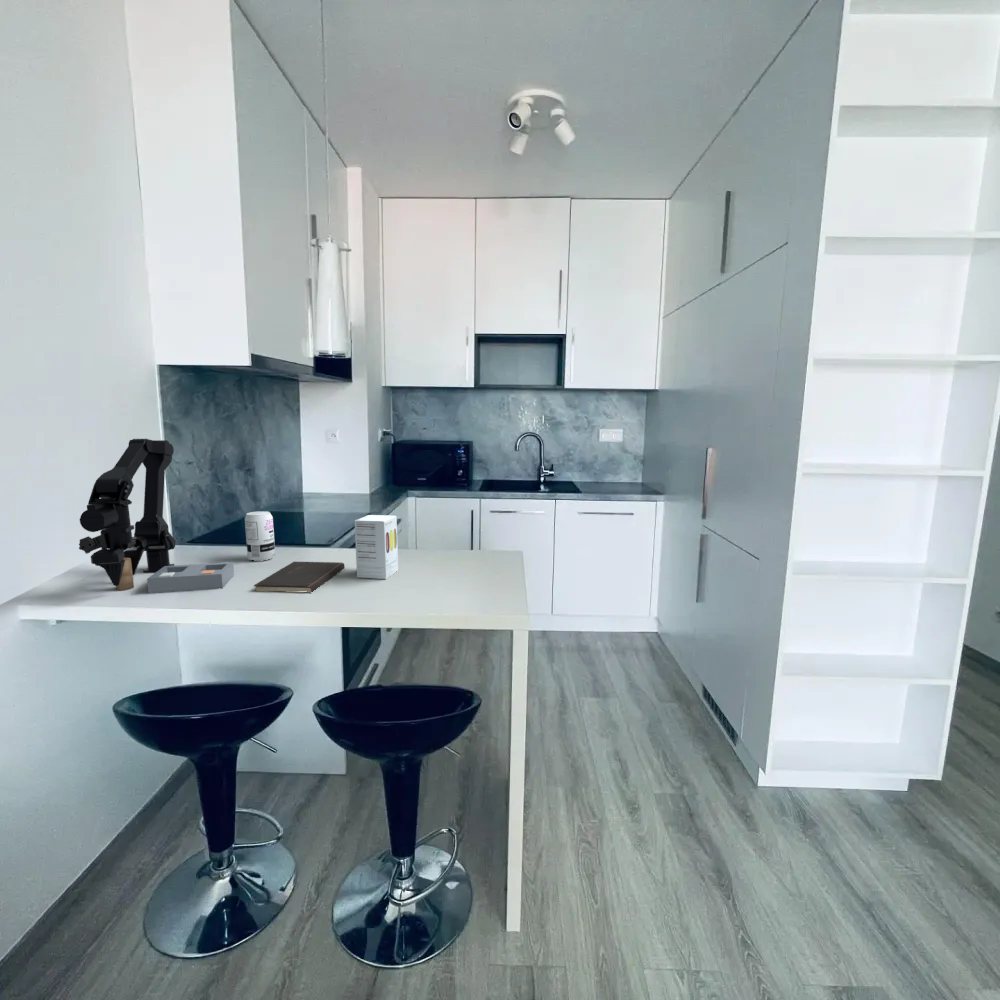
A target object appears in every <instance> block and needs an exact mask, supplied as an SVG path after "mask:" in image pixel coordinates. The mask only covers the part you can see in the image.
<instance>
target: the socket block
mask: <svg viewBox="0 0 1000 1000" xmlns="http://www.w3.org/2000/svg"><path fill="white" fill-rule="evenodd" d="M234 568H235V567H234V562H233V561H231V562H213V563H212V562H211V563H210V562H209V563H196V564H195V563H193V564H192V563H191V564H179V565H176V564H174V566H164V567H163V568H161V569H160V570H158V571H157V572H153V574H151V575H149V576H148V577H147V578H146V580H147V589H148V594H156V593H158V594H159V593H170V592H171V593H173V592H188V591H190V592H191V591H201V590H217V589H219V588H220V589H224V588H225V587H226V585H227V584H229V582H230V581H231V580H232V579H231V578H234V576H235V569H234ZM233 575H234V576H233ZM230 579H231V580H230ZM229 580H230V581H229ZM228 581H229V582H228ZM223 587H224V588H223Z"/></svg>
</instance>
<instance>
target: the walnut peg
mask: <svg viewBox="0 0 1000 1000" xmlns="http://www.w3.org/2000/svg"><path fill="white" fill-rule="evenodd" d="M123 560H125V563H124V567H123V571H122V576H121V580H120V583H119V585H118V586H115V590H116V591H117V592H118V591H119V592H121V591H123V592H124V591H128V590H132V589H134V587H135V586H134V585H135V584H134V575H133V573H132V564H131V558H124V559H123Z"/></svg>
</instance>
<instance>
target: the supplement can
mask: <svg viewBox="0 0 1000 1000" xmlns="http://www.w3.org/2000/svg"><path fill="white" fill-rule="evenodd" d="M244 528H245V541H246V553H247V559H248V560H249V561H251V560H254V561H253V562H262V561H261V560H267V561H269V560H268V559H270V560H272V559H271V558H273V557H275V556H276V545H275V542H276V541H275V530H274V517H273V515H272V514H271V512H270V511H266V510H264V511H263V510H259V511H251V512H246V515H245V517H244ZM273 559H274V558H273Z"/></svg>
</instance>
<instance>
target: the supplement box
mask: <svg viewBox="0 0 1000 1000" xmlns="http://www.w3.org/2000/svg"><path fill="white" fill-rule="evenodd" d="M397 521H398V518H397V515H386V514H385V515H382V514H381V515H379V514H367V515H365V516H363V517H360V518H358V519H355V520H354V538H355V561H356V563H355V564H356V578H359V579H361V578H362V579H377V580H387V579H388V578H390V577H391V576H393V575H394V574H396V573H397V572H398V571H399V557H398V556H399V553H398V552H399V549H398V548H399V547H398V524H397V523H398V522H397ZM396 571H397V572H396Z"/></svg>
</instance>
